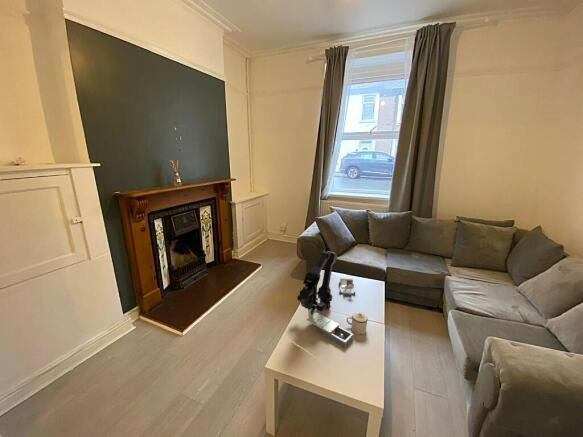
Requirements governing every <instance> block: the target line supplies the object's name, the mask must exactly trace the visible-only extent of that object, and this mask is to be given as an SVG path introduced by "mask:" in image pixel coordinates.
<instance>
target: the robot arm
mask: <svg viewBox="0 0 583 437" xmlns="http://www.w3.org/2000/svg"><path fill="white" fill-rule="evenodd" d="M337 259H338V253H336V252H334V251H330V250H326V251H322V252H321V254H320V256H319V258H318V260H317V262H316V263H315V265H314V266H313V267H311V268H309V270H308V271H307V272H306V273H305V278H304V280H303V285H305V286H303V288H302V289H301V290H300V291H299V294H298V295H297V297H296V299H297V301H298V302H300V306H301V307H303V308H305V309H307V311H309V309H311V315H313V313H314V314H315V312H316V311H318V312H321V313H322V312H323V311H325V310H328V309H330V308H331V307H332V305H331V302H332V301H333V294H332V293H331V292H332V290H331V287H330V284H331V276H332V271H333V266H334V264H335V263H336V261H337ZM323 269H324V272H323V278H322V284H321V286H319V288H318V285H319V282H320V280H321V272H322V270H323ZM318 300H319V301H318Z"/></svg>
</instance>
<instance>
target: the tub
mask: <svg viewBox="0 0 583 437" xmlns="http://www.w3.org/2000/svg"><path fill="white" fill-rule="evenodd" d="M320 334H321V335H322V336H324V337H326V338H328V339H329V340H331V341H332V342H335V343H336V344H337V345H338V346H339V345H340V347H343V348H344V349H345V348H346V347H347V346H348V345H349V344H350V343H351V342H352V341H353V340H354V336H355V335H354V333H352V332H350V331H349V330H347V329H345V328H343V327H341V326H340V325H339V326H338V327H337V328H336V329H335V333H334V334H332V333H328V332H326V331H324V330H323V329H321V328H320ZM339 334H343V335H344V339H341V338H339Z"/></svg>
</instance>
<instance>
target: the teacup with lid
mask: <svg viewBox="0 0 583 437" xmlns="http://www.w3.org/2000/svg"><path fill="white" fill-rule="evenodd" d="M349 319H350V320H351V322H350V321H349ZM368 321H369V319H368V316H367V315H366V314H365V313H364V312H361V311H357V312H354V313H352V315H351V316H348V317H347V318H346V323H347V324H348V325H350V327H351V328H350V329H351V331H352V332H354V333H355V334H358V335H364V334H365V333H366V332H367V327H368V326H367V324H368Z"/></svg>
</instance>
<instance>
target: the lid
mask: <svg viewBox="0 0 583 437" xmlns="http://www.w3.org/2000/svg"><path fill="white" fill-rule="evenodd" d="M307 311H308V310H307ZM307 317H308V318H306V321H307V322H309V323H311V324H313V325H314V326H316V327H317V328H319V329H320V330H321V329H323V330H324V331H326V332H328V333H331V332H332V331H333V330H335V329H336V328H337V327H338V326H340V324H339V323H337V322H336V321H334V320H332V319H330V318H328V317H326V316H324V315H322V314H321V313H319V312H317V311H315V312H314V313H313V315H311V309H309V311H308V314H307Z"/></svg>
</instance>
